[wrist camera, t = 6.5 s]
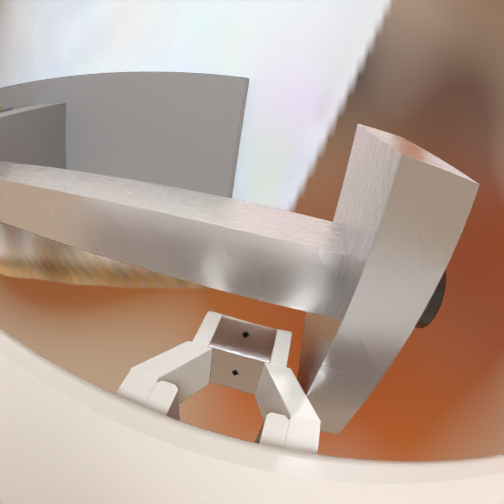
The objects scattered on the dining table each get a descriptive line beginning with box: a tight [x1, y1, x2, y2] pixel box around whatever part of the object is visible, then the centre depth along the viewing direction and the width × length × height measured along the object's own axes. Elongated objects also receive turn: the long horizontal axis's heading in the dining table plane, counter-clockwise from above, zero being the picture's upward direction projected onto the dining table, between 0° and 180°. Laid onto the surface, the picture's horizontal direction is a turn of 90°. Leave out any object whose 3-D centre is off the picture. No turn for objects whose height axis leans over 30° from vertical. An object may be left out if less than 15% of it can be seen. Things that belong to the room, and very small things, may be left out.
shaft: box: [0, 124, 479, 434], centre depth 10 cm, size 8×28×6 cm, turn 81°
